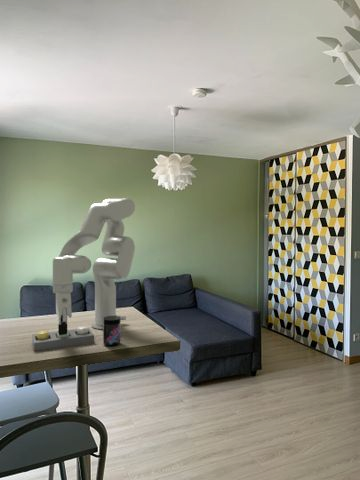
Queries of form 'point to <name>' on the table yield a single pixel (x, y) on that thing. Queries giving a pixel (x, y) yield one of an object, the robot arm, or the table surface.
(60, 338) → the button panel
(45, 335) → the mustard button
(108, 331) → the supplement container
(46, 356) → the table surface
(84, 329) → the white button
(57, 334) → the green button
